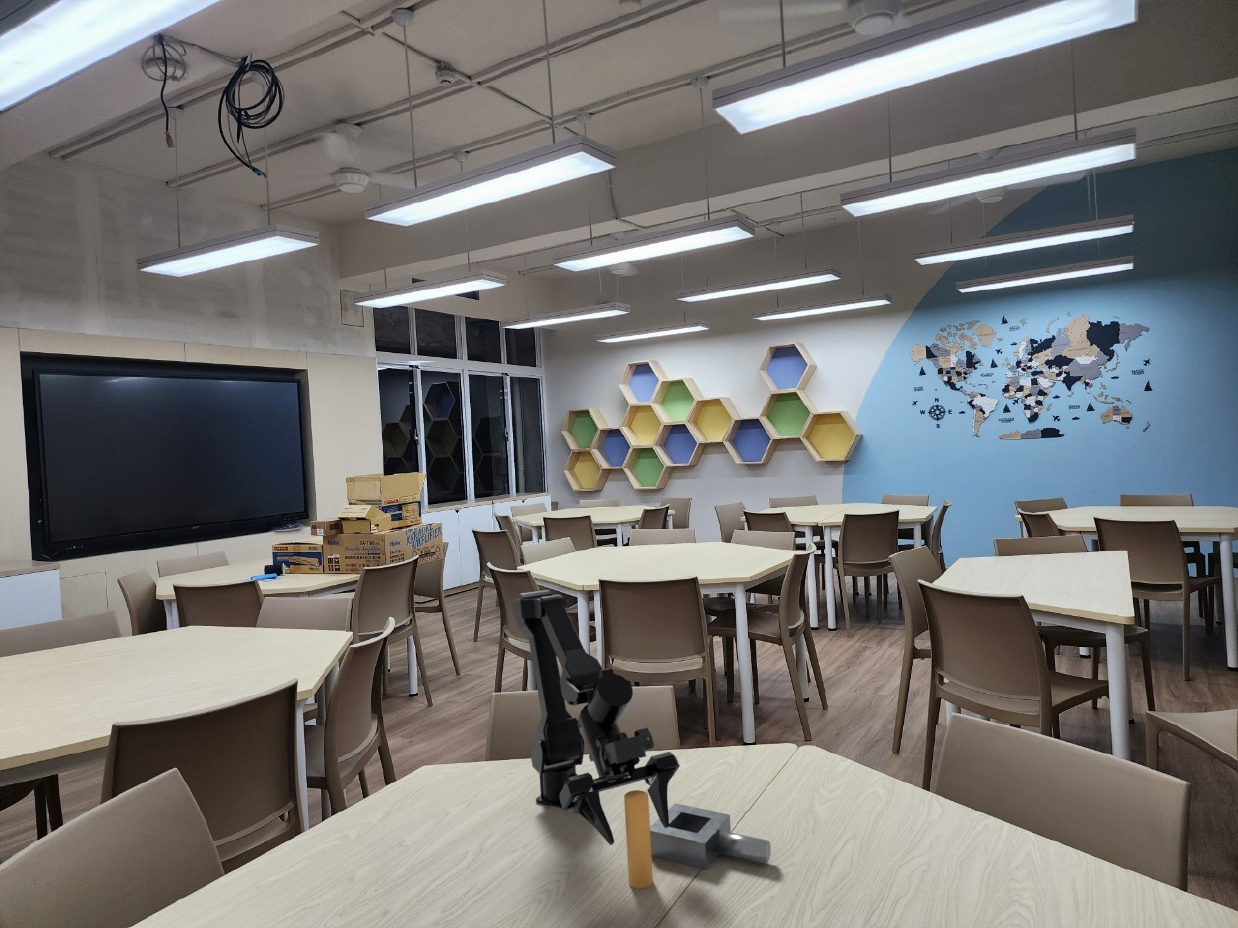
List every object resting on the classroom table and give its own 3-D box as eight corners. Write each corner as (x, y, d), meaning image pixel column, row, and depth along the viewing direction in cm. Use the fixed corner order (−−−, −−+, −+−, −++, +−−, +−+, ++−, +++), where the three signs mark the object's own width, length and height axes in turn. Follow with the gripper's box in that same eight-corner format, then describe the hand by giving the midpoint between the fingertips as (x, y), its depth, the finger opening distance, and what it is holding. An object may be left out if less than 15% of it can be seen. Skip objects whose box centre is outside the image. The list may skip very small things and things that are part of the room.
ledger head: (648, 854, 121) (647, 829, 121) (676, 826, 129) (674, 803, 129) (756, 881, 111) (755, 854, 111) (778, 849, 120) (777, 824, 120)
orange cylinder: (624, 885, 112) (619, 798, 112) (636, 872, 116) (631, 788, 115) (645, 891, 111) (641, 802, 110) (657, 878, 114) (652, 792, 114)
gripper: (562, 725, 113) (597, 829, 103) (670, 701, 121) (712, 795, 111) (546, 760, 120) (577, 860, 110) (649, 735, 128) (687, 826, 118)
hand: (640, 834), depth 112 cm, fingers open, 9 cm apart
